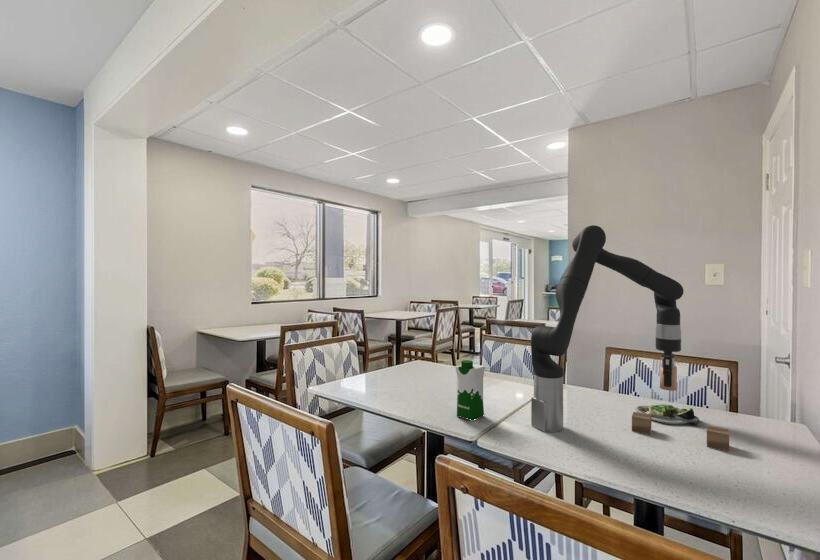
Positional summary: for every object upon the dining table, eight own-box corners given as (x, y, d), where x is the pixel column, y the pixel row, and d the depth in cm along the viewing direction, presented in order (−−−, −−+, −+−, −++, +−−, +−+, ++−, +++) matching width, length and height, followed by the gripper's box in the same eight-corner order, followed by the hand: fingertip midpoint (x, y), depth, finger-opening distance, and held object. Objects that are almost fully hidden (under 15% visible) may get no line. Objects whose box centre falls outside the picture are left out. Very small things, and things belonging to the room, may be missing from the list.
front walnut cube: (729, 452, 110) (729, 434, 110) (707, 447, 113) (707, 430, 113) (727, 445, 114) (728, 428, 114) (706, 441, 117) (706, 425, 117)
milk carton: (453, 416, 138) (452, 360, 138) (467, 410, 145) (467, 356, 145) (473, 423, 132) (473, 364, 132) (488, 415, 139) (487, 360, 139)
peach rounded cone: (671, 391, 134) (671, 368, 134) (656, 387, 139) (656, 365, 139) (680, 389, 136) (680, 366, 136) (665, 385, 141) (665, 363, 141)
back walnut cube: (650, 435, 122) (650, 419, 122) (631, 431, 125) (631, 416, 125) (651, 430, 126) (651, 414, 126) (633, 426, 129) (633, 411, 129)
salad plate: (651, 428, 128) (651, 414, 128) (622, 409, 146) (622, 397, 146) (710, 428, 128) (710, 414, 128) (674, 409, 146) (674, 397, 146)
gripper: (680, 340, 129) (680, 391, 130) (681, 335, 141) (681, 381, 141) (654, 338, 134) (654, 388, 134) (656, 333, 145) (656, 378, 146)
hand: (667, 384), depth 138 cm, fingers closed on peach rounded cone, 5 cm apart
